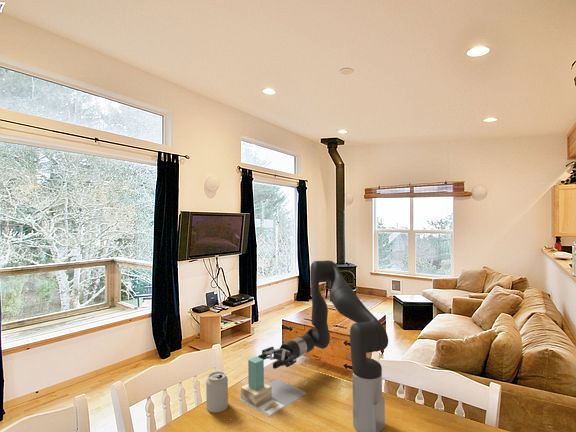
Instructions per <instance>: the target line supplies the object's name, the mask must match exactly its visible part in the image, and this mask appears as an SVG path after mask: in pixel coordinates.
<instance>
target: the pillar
mask: <svg viewBox="0 0 576 432" xmlns="http://www.w3.org/2000/svg"><path fill="white" fill-rule="evenodd" d="M264 362H265V361H264V360H263V359H261V358H259V357H258V355H257V356H254V357H252V358H250V359H248V361H247V363H248V364H247V366H248V367H247V369H248V372H247V373H248V374H247V375H248V377H247V378H248V379H247V380H248V383H249V387H250V388H252V389H253V390H255V391H256V390H258V389H260V388H262V387H264V383H265V379H264V378H265V377H264V376H265V372H264V371H265V363H264Z"/></svg>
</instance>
